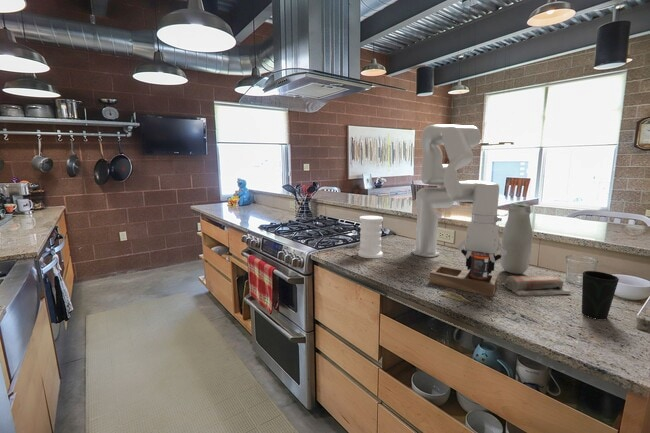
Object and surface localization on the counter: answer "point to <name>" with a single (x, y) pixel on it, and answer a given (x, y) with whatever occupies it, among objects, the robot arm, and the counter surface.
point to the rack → (462, 280)
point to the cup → (597, 293)
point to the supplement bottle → (479, 265)
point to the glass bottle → (517, 239)
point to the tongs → (460, 298)
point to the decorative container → (370, 236)
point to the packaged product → (535, 285)
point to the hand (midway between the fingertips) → (479, 270)
